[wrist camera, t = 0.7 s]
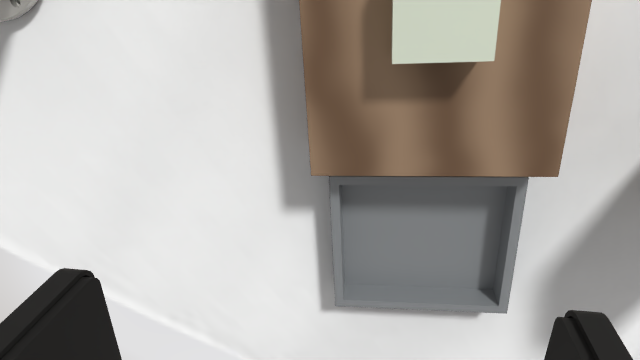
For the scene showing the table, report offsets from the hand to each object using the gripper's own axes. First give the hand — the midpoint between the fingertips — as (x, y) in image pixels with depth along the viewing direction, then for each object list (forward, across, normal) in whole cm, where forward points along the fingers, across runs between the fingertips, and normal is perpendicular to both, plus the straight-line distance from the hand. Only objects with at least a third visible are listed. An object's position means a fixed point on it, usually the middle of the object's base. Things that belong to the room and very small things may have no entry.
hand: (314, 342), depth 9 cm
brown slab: (+31, -4, -3) cm, 31 cm away
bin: (+31, -5, +16) cm, 35 cm away
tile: (+25, -4, -4) cm, 25 cm away
